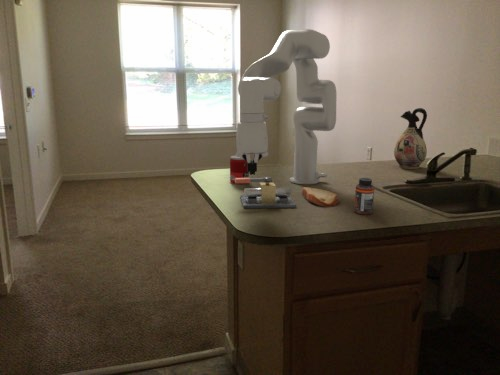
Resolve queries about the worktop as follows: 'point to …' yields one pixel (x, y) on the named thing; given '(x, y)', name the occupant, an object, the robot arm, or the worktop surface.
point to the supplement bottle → (364, 196)
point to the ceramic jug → (411, 142)
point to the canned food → (238, 169)
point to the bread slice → (320, 197)
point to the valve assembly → (267, 197)
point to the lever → (253, 180)
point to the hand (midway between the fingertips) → (252, 173)
